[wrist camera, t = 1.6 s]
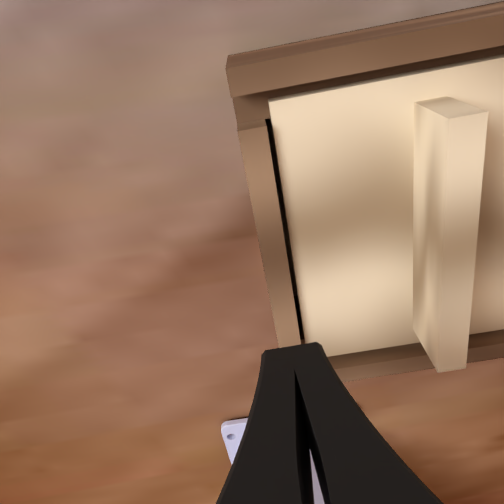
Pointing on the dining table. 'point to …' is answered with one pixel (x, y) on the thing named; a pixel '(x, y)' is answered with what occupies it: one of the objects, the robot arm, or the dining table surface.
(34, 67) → the dining table surface
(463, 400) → the dining table surface
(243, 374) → the dining table surface
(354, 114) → the lid
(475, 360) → the box
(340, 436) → the robot arm
